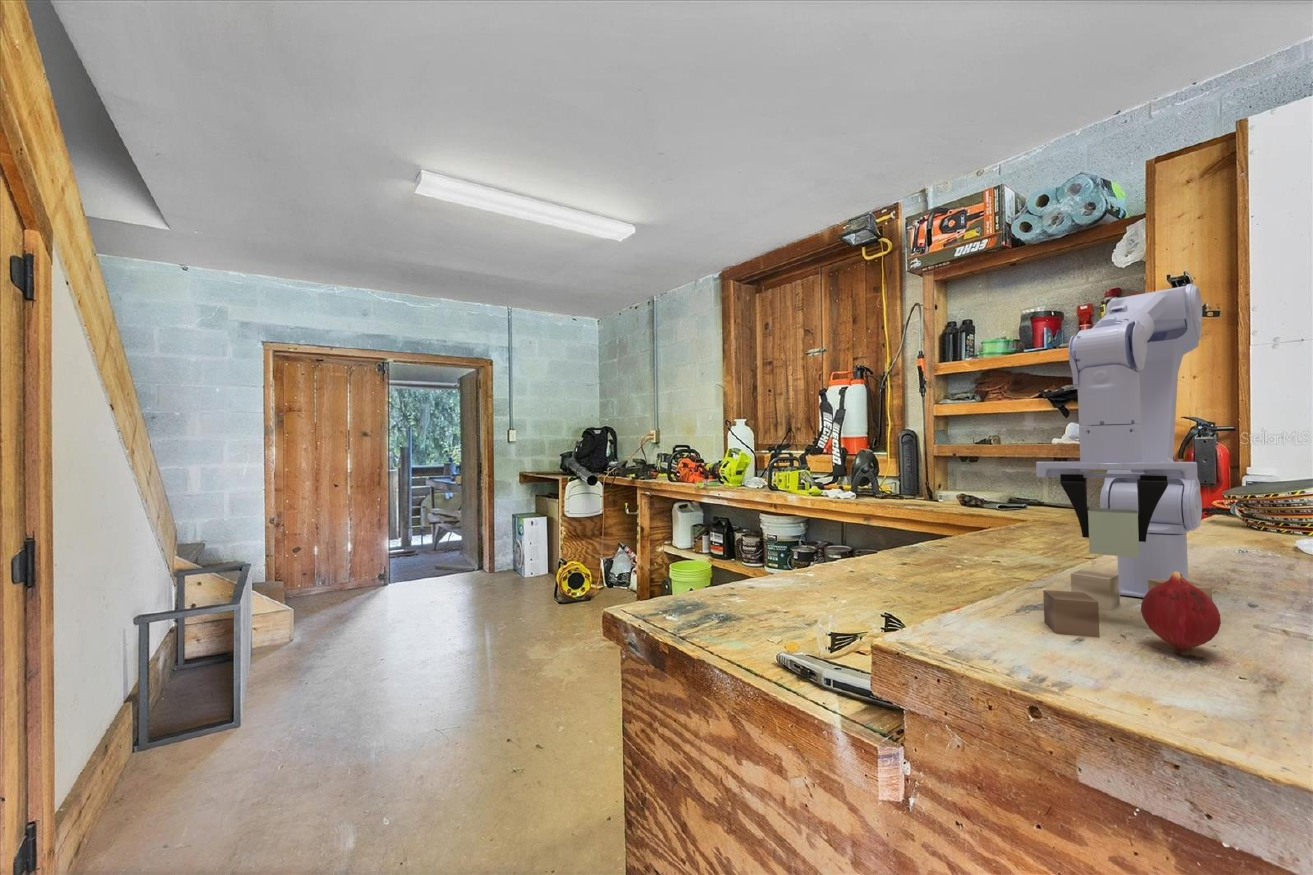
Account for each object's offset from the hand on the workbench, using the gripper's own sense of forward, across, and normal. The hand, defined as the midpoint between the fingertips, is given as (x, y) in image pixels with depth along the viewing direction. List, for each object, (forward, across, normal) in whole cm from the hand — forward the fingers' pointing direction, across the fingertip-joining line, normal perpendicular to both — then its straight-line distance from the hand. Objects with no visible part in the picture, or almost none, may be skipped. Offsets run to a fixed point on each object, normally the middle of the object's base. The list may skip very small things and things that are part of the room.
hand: (1113, 538), depth 64 cm
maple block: (+10, -2, +8) cm, 13 cm away
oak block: (+10, +6, +8) cm, 14 cm away
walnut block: (+10, -4, -6) cm, 13 cm away
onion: (+10, +5, -8) cm, 14 cm away
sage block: (+2, 0, 0) cm, 2 cm away
